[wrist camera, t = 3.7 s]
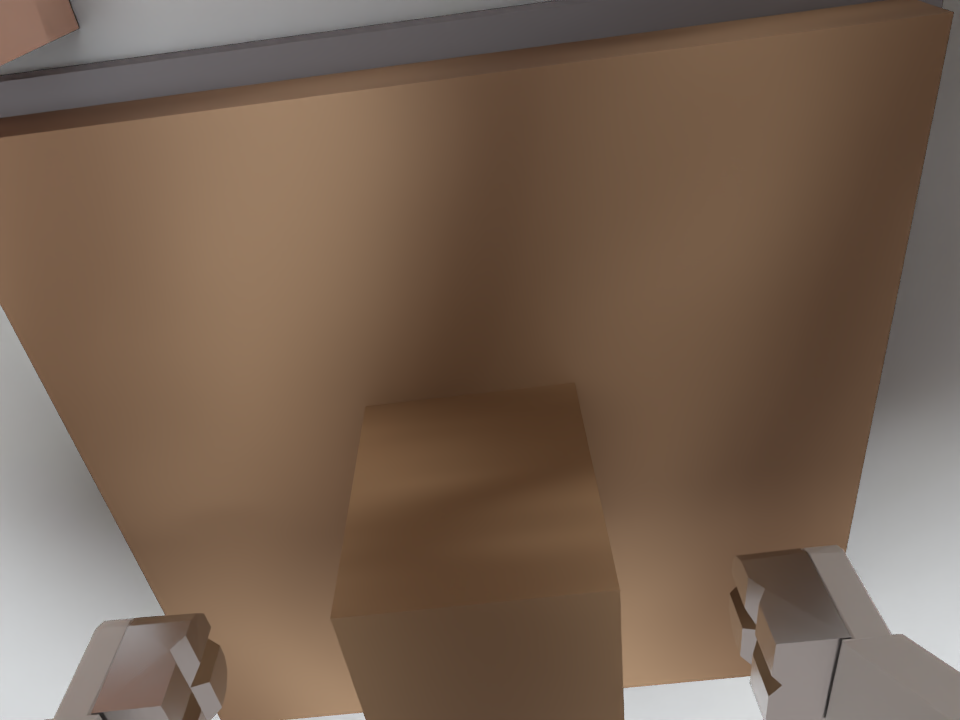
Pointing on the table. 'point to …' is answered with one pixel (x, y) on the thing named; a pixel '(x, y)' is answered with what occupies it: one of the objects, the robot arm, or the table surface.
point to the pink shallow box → (32, 25)
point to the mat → (372, 48)
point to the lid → (479, 348)
